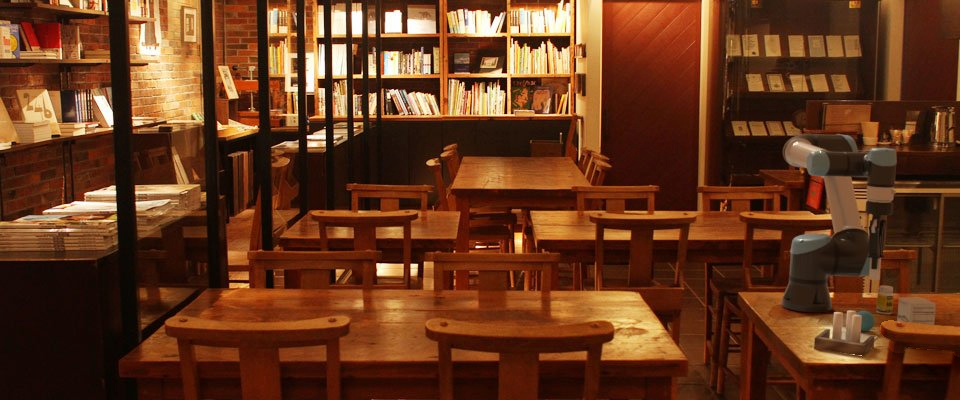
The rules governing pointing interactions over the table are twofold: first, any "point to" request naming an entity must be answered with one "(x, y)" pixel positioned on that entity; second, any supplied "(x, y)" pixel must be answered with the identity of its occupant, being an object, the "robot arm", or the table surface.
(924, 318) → the supplement box
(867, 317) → the ball
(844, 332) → the beige square tile
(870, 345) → the tray
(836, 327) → the pin
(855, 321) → the pin
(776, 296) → the table surface
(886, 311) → the supplement bottle
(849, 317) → the pin front
